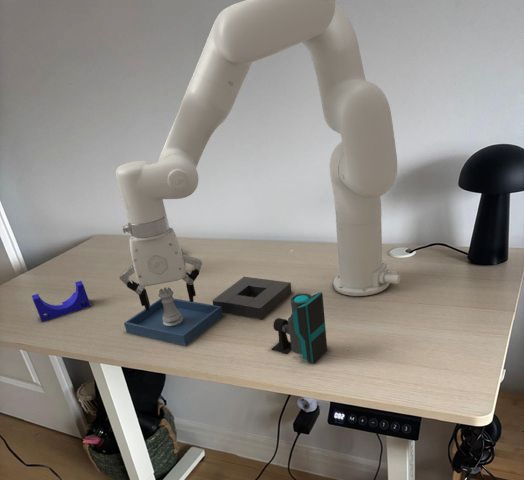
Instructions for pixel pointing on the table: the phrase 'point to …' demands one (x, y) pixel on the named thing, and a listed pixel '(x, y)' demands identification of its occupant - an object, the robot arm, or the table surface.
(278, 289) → the square hole block
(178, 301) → the basin tray
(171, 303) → the rook chess piece
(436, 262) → the table surface
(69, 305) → the blue curved cradle bracket
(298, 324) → the surveillance camera
